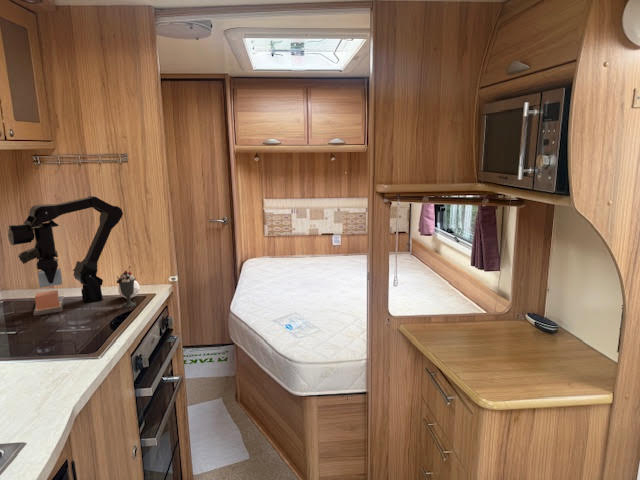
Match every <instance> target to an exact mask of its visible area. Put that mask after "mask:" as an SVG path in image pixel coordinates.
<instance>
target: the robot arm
mask: <svg viewBox="0 0 640 480" xmlns="http://www.w3.org/2000/svg"><path fill="white" fill-rule="evenodd" d="M91 208H92V209H94V210H95V211H97V212H98V213H100V214H99V226H98V227H97V230H96V232H95V234H94V237H93V239H92V242H91V243H90V246H89V248H88V251H87V253H86V255H85V257H84V258H83V260H82V261H79V260H77V261H76V264H75V267H74V268H73V269H72V271H73V273H72V274H73V278H74V279H75V280H77V281H78V282H79V283H80V284H81V285H82V288H81V289H80V290H81V291H80V292H81V297H82V301H83V303H84V304H87V303H93V302H99V301H103V300H104V298H103V294H102V285H103V284H104V283H103V282H104V279H102V278H101V277H99V276H98V275H97V274H98V262H99V259H100V257H101V254H102V252H103V251H104V248H105V246H106V243H107V241H108V239H109V236H110V234H111V232H112V229H113V228H115V226H117V224H119V222H120V221H121V219H122V218H123V216H124V215H123V214H124V213H123V210H122V208H121V207H119V206H118V205H112V204H110V203H109V202H106V201H104V200H103V199H101V198H99V197H98V196H93V195H90V196H89V195H88V196H87V197H84V198H78V199H74V200H69V201H64V202H61V203H53V204H49V203H48V204H47V203H46V204H45V203H44V204H36V205H35V204H34V205H33V206H31V207H30V209H29V211H28V214H29V215H28V216H27V218H26V219H25V221H24V222H23V224H22V223H21V224H16V225H15V224H10V225H8V230H7V231H8V234H7V238H8V241H9V244H10V245H11V246H16V245H23V244H28V243H32V242H33V241H34V240H35V243H34V247H32V248H29V249H28V250H27V249H26V250H24V251H22V252H20V253H19V254H18V255H17V256H18V259H19V261H20V262H21V263H22V264H23V265H24V264H26V263H28V262H30V261H32V260H34V259H36V260H37V262H36V270H40V271H44V273H45V275H46V277H47V279H48V282H49V283H50V284H51V283H53V280H54V277H55V274H56V270H57V269H58V268H59V264H58V263H59V259H58V257H59V255H58V251H57V249H56V245H55V244H56V242H55V239H54V238H55V237H54V232H53V231H54V230H53V228H56V227H59V224H58V223H56V222H55V221H54V220H55V219H57V218H58V217H60V216H63V215H66V214H69V213H74V212H75V213H76V212H77V211H82V210H87V209H91Z"/></svg>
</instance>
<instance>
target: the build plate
mask: <svg viewBox="0 0 640 480" xmlns="http://www.w3.org/2000/svg"><path fill="white" fill-rule="evenodd" d="M63 299H65V296H64V295H61V296H60V295H59V301H60V304H59V306H58V307H51V308H45V309H39V310H37V307H36V305H35V307H34V309H33V316H34V317H35V316H41V315H46V314H54V313H59V312H63V308H64V302H63Z"/></svg>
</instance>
